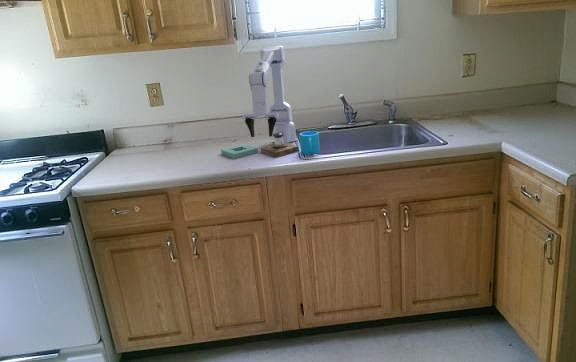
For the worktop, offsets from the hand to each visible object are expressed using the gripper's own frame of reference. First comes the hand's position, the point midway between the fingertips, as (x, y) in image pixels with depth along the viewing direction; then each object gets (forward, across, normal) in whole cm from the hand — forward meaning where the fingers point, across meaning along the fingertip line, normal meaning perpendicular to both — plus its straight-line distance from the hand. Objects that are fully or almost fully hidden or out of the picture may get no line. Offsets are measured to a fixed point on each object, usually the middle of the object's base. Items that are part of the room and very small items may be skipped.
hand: (261, 136), depth 183 cm
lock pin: (+8, +3, +16) cm, 18 cm away
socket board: (+8, -16, +14) cm, 23 cm away
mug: (+9, +17, +13) cm, 23 cm away
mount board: (+8, +3, +16) cm, 18 cm away
